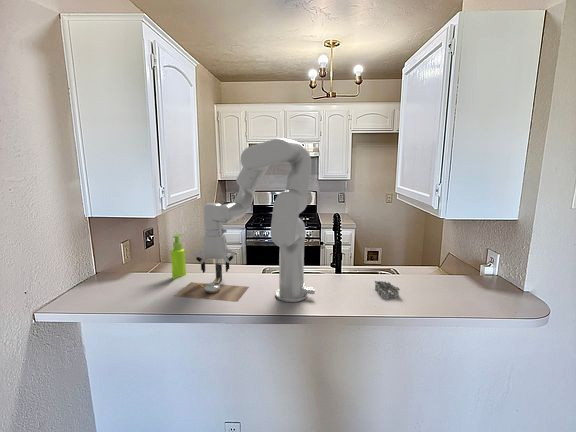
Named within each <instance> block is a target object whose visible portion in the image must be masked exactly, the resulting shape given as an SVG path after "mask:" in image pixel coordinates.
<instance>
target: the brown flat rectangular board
mask: <svg viewBox="0 0 576 432" xmlns="http://www.w3.org/2000/svg"><path fill="white" fill-rule="evenodd" d="M206 284H208V283H205V282H189V284H187V285H186V286H185V287H182V288H181V289H180V290H178V292H177V293H175V294H174V295H173V297H181V298H191V299H204V300H216V301H223V302H224V301H225V302H237V303H238V302H239V300H240V299H242V297H243V296H244V295H245V293H246V292H247V291H248V290H249V288H250V286H245V285H244V286H243V285H230V284H220V291H219V292H217V293H213V294H209V293H206V292H205V285H206Z"/></svg>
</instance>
